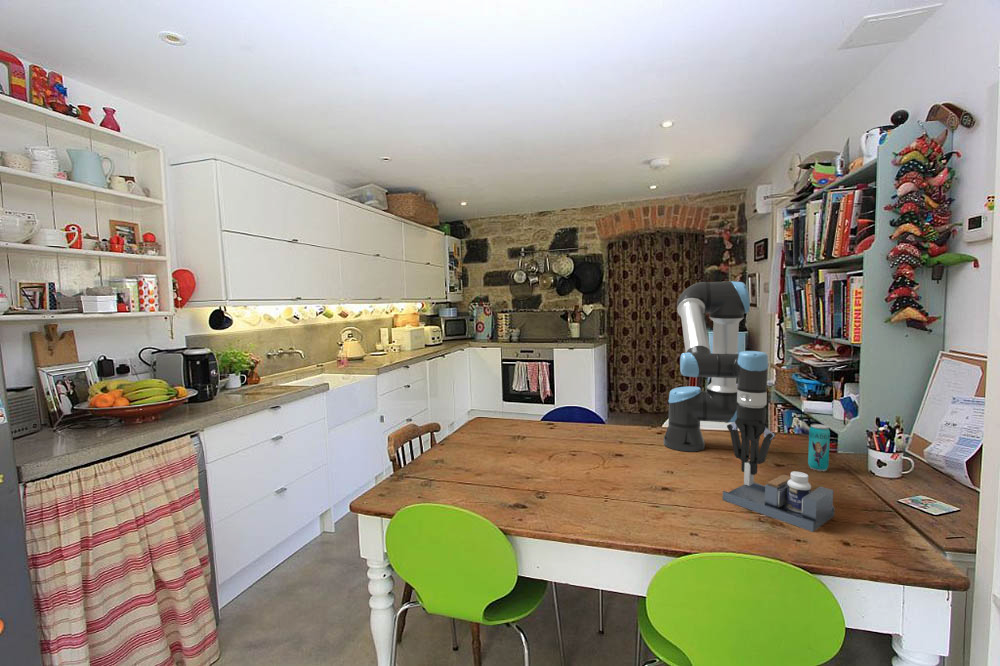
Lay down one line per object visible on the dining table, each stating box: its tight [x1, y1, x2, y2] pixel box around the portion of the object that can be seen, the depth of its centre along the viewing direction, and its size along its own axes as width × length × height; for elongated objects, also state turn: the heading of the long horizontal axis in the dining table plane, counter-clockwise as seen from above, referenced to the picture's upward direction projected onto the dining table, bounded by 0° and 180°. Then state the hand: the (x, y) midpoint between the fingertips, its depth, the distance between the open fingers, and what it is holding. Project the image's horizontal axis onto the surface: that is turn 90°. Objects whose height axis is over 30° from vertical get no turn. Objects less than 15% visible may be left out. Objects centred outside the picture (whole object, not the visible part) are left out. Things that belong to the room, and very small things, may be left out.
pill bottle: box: [787, 470, 812, 513], centre depth 123 cm, size 5×5×10 cm
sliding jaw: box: [764, 474, 791, 509], centre depth 126 cm, size 3×11×7 cm, turn 126°
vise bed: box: [722, 482, 835, 533], centre depth 127 cm, size 23×14×8 cm, turn 36°
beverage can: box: [807, 423, 831, 472], centre depth 155 cm, size 6×6×15 cm
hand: (748, 483), depth 134 cm, fingers closed
